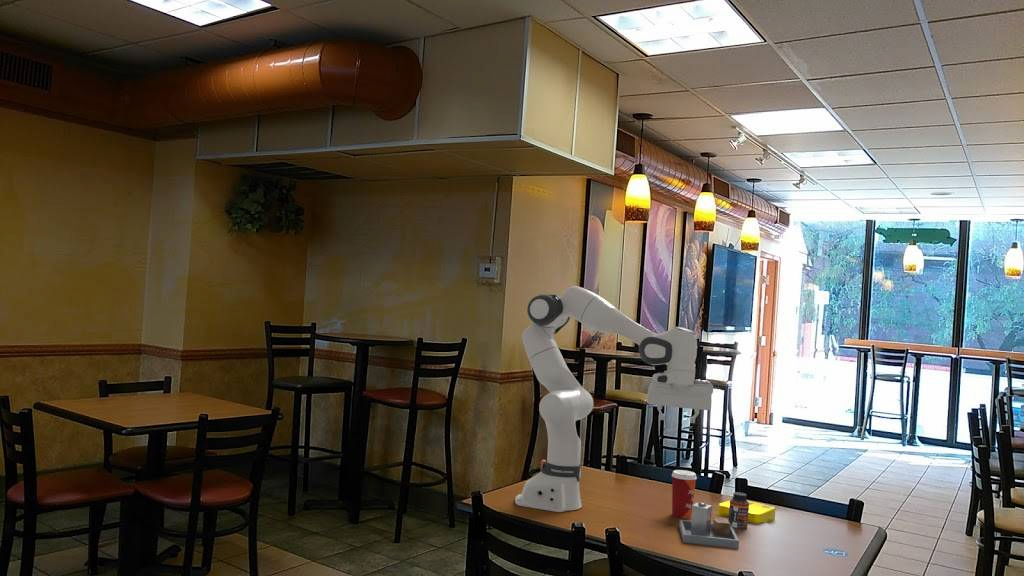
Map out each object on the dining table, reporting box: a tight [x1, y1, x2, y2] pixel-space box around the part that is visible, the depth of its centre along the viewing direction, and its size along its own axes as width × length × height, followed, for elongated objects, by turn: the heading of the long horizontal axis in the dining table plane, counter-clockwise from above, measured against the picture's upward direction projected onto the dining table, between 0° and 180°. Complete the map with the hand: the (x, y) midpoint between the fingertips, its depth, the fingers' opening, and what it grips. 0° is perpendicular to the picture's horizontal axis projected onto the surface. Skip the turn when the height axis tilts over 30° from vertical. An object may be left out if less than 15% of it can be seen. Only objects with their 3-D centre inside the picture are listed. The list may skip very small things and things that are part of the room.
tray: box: [678, 519, 740, 549], centre depth 222 cm, size 16×16×3 cm
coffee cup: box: [671, 469, 698, 520], centre depth 244 cm, size 8×8×15 cm
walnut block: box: [712, 518, 731, 537], centre depth 226 cm, size 4×4×4 cm
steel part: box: [690, 501, 713, 536], centre depth 224 cm, size 4×4×10 cm
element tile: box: [717, 499, 776, 525], centre depth 251 cm, size 15×15×5 cm
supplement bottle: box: [727, 491, 749, 531], centre depth 236 cm, size 6×6×11 cm
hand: (677, 421), depth 237 cm, fingers open, 8 cm apart
